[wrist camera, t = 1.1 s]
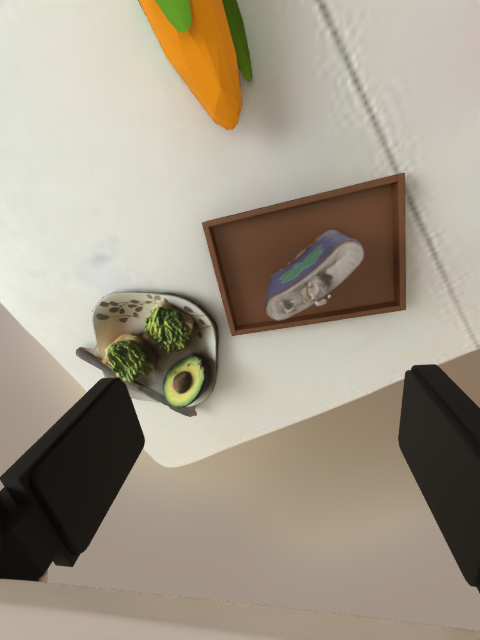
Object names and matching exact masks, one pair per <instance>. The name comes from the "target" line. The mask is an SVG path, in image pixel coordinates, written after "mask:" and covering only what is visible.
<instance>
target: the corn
mask: <svg viewBox="0 0 480 640" xmlns="http://www.w3.org/2000/svg"><path fill="white" fill-rule="evenodd" d="M138 1H139V3H140V5H141V7H142V9H143V11H144V13H145V15H146V16H147V18H148V20H149V23H150V25H151V27H152V29H153V31H154V33H155V35H156V37H157V39H158V41H159V43H160V45H161V47H162V49H163V51H164V53H165V55H166V57H167V59H168V60H169V61H170V63H171V64H172V65H173V67H174V68H175V69H176V71H177V72H178V73H179V75H180V76H181V78H182V79H183V80H184V82H185V83H186V84H187V86H188V87H189V88H190V90H191V91H192V92H193V94H194V95H195V96H196V98H197V99H198V101H199V102H200V103H201V105H202V106H203V107H204V109H205V110H206V111H207V113H208V114H209V115H210V117H211V118H212V119H213V121H214V122H215V123H217V124H218V125H220V126H222V127H223V128H225V129H227V130H233V129H234V128H235V126H236V125H237V124H238V120H239V115H240V110H241V105H242V98H241V90H240V81H239V73H238V66H239V68H240V71H241V72H242V74H243V76H244V78H245V79H246V80H248V81H251V80H252V70H251V63H250V56H249V51H248V46H247V41H246V36H245V31H244V26H243V20H242V17H241V14H240V11H239V8H238V4H237V1H236V0H138ZM237 64H238V65H237Z"/></svg>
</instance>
